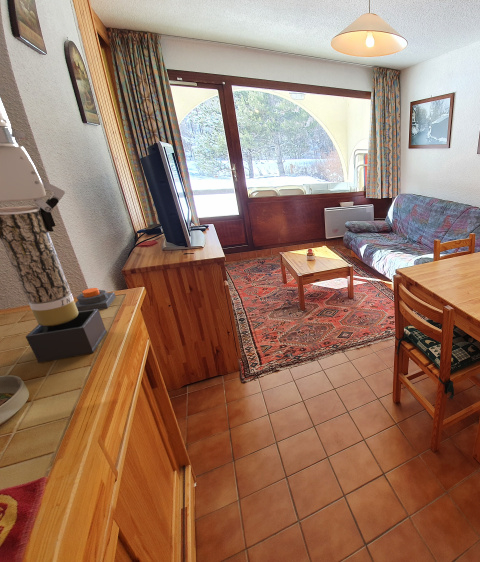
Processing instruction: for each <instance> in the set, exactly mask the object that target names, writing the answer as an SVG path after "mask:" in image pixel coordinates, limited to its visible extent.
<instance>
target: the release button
mask: <svg viewBox="0 0 480 562" xmlns="http://www.w3.org/2000/svg"><path fill="white" fill-rule="evenodd" d="M99 290H100V289H99V288H98V287H90V288H86V289H84V290H82V292H81V294H83V296H84V297H86V298H88V297H93V296H97V295H99V294H100V293H99Z"/></svg>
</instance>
